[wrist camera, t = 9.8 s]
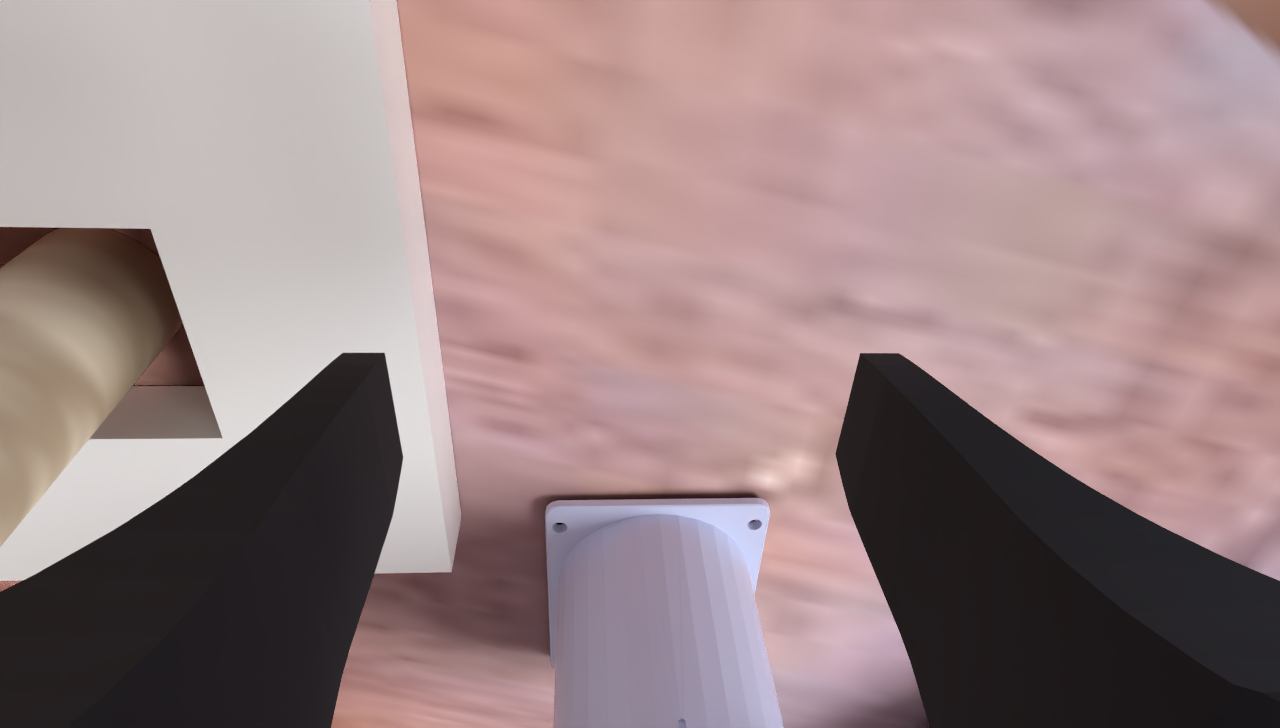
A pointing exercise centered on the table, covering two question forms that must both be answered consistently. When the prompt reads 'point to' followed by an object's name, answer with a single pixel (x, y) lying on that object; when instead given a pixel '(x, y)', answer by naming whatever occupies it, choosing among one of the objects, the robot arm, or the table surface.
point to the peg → (71, 350)
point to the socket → (232, 233)
